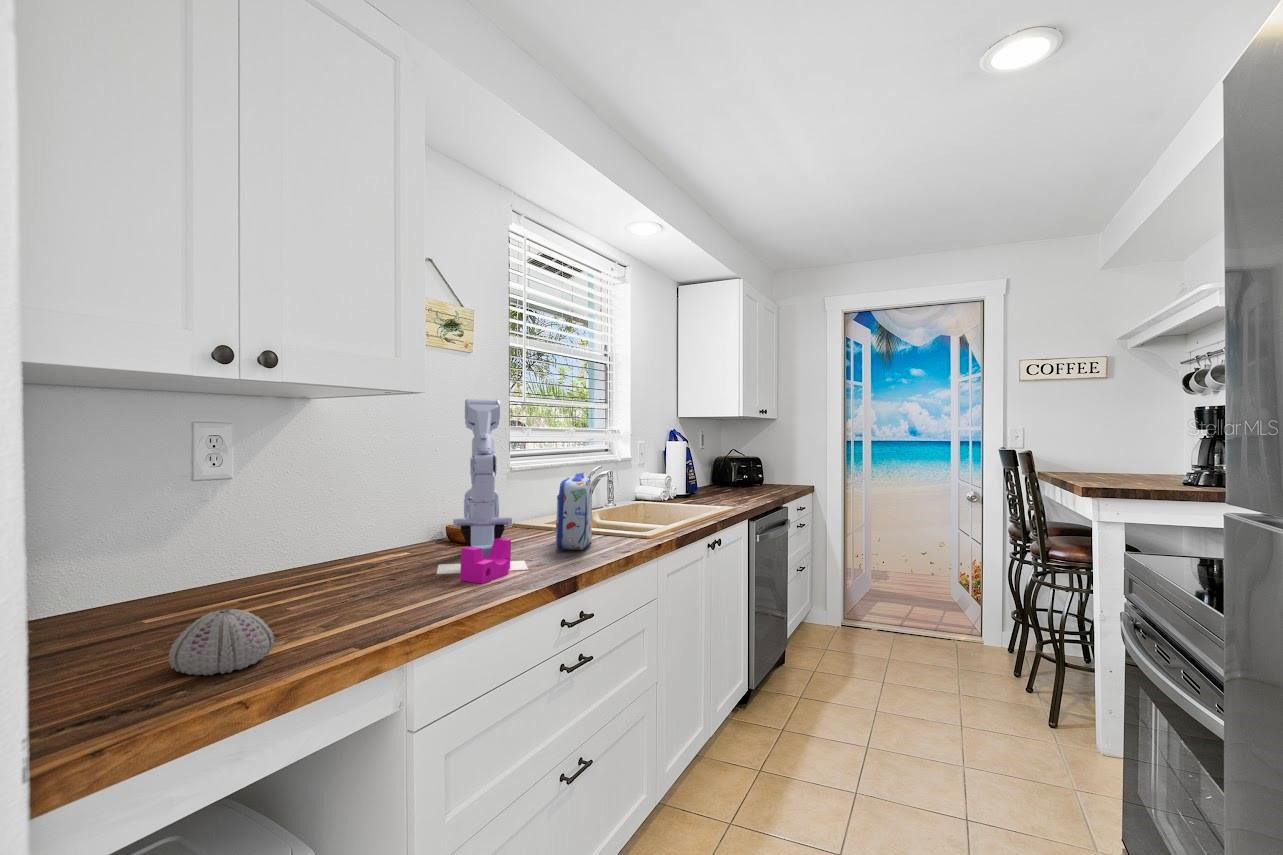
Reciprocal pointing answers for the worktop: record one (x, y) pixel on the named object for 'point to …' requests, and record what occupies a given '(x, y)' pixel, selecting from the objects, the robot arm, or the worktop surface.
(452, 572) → the letter board
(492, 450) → the robot arm
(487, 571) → the toy block
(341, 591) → the worktop surface
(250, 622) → the sea urchin shell
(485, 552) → the blue cube
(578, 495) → the lunch box
